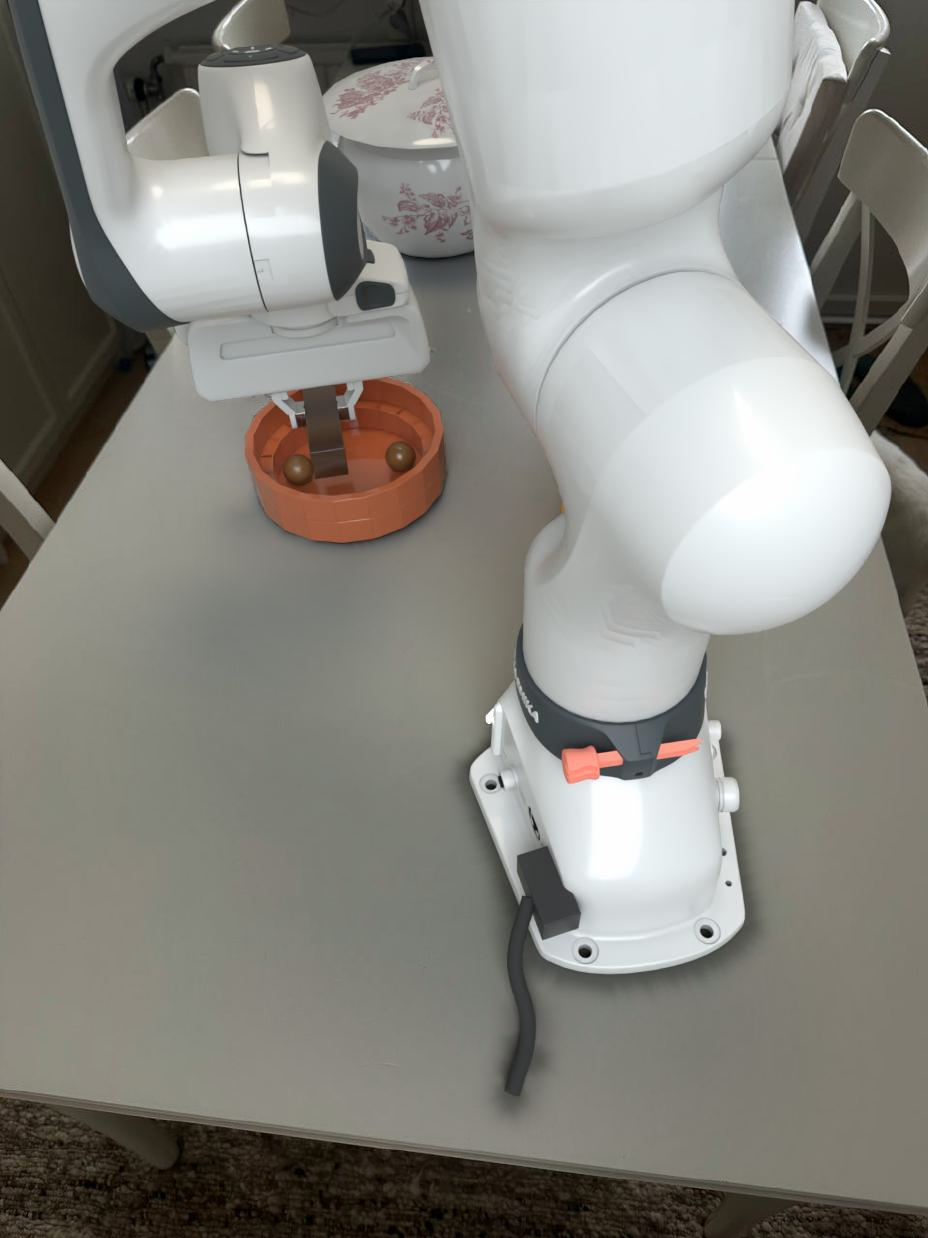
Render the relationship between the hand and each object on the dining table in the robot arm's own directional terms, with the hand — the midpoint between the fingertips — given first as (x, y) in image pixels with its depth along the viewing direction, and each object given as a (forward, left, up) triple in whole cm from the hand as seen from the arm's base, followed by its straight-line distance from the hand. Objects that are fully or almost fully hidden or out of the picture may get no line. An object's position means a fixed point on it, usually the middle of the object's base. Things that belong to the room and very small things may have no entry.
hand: (324, 420), depth 79 cm
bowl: (+1, -2, -8) cm, 8 cm away
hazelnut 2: (+1, -7, -8) cm, 10 cm away
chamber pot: (+49, -17, -8) cm, 52 cm away
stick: (0, 0, -2) cm, 2 cm away
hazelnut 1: (+1, +3, -8) cm, 9 cm away
